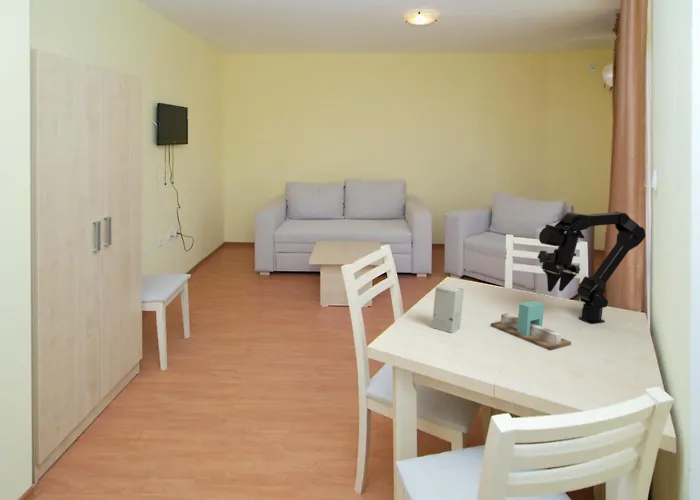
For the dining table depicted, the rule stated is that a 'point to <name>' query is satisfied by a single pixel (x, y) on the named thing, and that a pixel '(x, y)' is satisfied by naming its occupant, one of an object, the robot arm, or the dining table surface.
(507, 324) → the rail board
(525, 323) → the teal rectangular block
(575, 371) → the dining table surface
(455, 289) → the skincare box
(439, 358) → the dining table surface
